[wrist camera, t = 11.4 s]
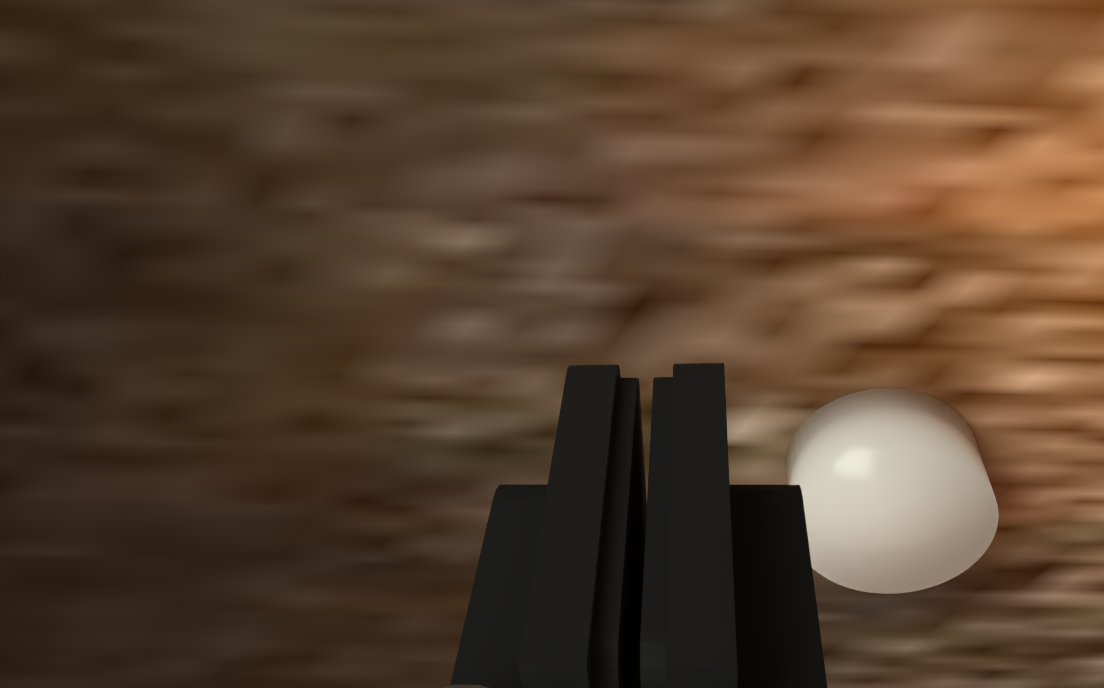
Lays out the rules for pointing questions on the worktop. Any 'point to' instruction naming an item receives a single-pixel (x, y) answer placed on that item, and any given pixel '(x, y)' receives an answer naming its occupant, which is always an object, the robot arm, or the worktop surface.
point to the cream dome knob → (891, 491)
